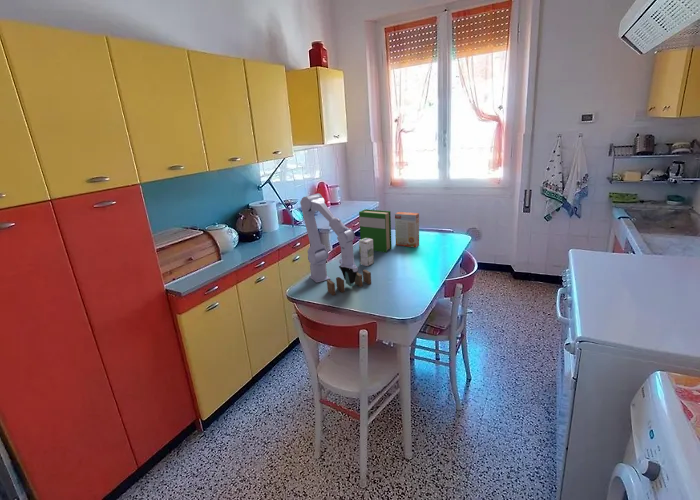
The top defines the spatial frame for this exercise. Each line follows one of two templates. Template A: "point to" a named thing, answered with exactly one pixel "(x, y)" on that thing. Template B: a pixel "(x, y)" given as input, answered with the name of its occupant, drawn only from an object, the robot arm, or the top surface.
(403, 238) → the cracker box
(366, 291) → the top surface
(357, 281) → the tile
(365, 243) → the syrup box
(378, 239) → the hardback book
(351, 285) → the teal tile
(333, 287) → the tile
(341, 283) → the tile
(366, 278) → the tile
